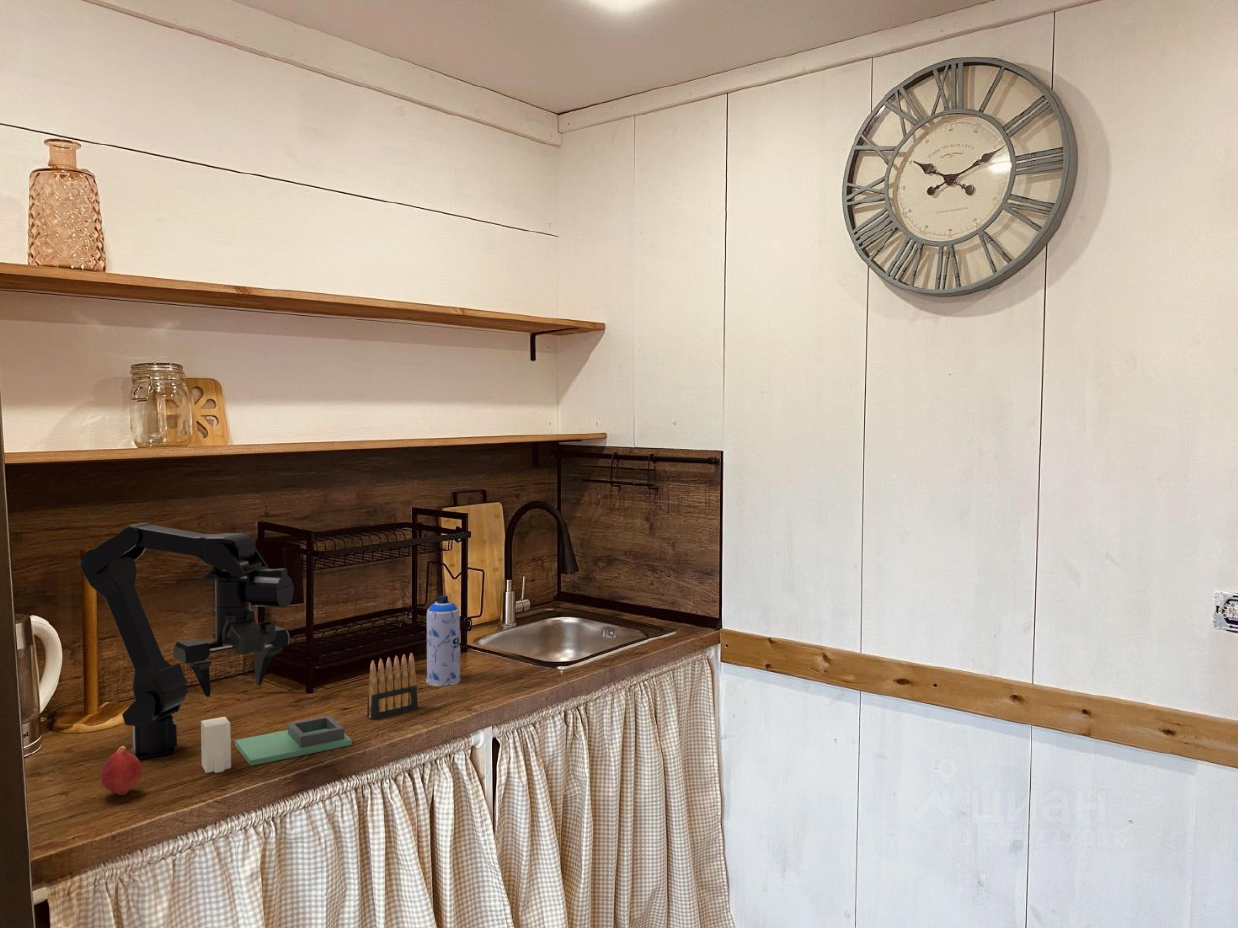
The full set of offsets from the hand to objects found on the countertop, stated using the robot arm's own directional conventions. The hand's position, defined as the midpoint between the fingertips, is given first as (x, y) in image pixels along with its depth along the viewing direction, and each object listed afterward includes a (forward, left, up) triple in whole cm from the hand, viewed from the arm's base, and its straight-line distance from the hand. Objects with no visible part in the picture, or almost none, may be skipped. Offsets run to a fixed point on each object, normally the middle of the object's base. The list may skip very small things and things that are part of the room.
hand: (233, 690), depth 161 cm
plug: (-4, -3, -12) cm, 13 cm away
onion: (-19, -7, -13) cm, 23 cm away
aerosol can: (+50, +22, -13) cm, 57 cm away
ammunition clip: (+32, +7, -13) cm, 35 cm away
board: (+10, 0, -12) cm, 16 cm away
